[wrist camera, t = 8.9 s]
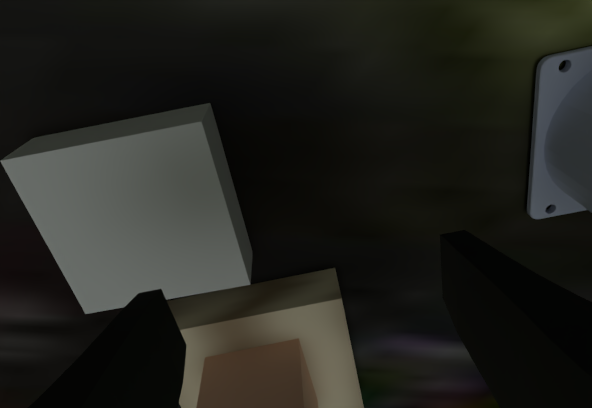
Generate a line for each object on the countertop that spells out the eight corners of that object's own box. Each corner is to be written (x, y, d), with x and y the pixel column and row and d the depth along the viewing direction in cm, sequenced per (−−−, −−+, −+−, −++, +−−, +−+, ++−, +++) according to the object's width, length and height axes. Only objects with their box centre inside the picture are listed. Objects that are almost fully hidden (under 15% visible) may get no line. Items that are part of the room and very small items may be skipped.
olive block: (333, 261, 24) (341, 298, 21) (358, 382, 28) (367, 424, 26) (158, 297, 24) (144, 336, 21) (211, 409, 29) (205, 453, 26)
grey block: (211, 100, 19) (201, 121, 16) (253, 248, 23) (250, 284, 20) (37, 135, 19) (0, 160, 17) (107, 274, 23) (85, 313, 20)
